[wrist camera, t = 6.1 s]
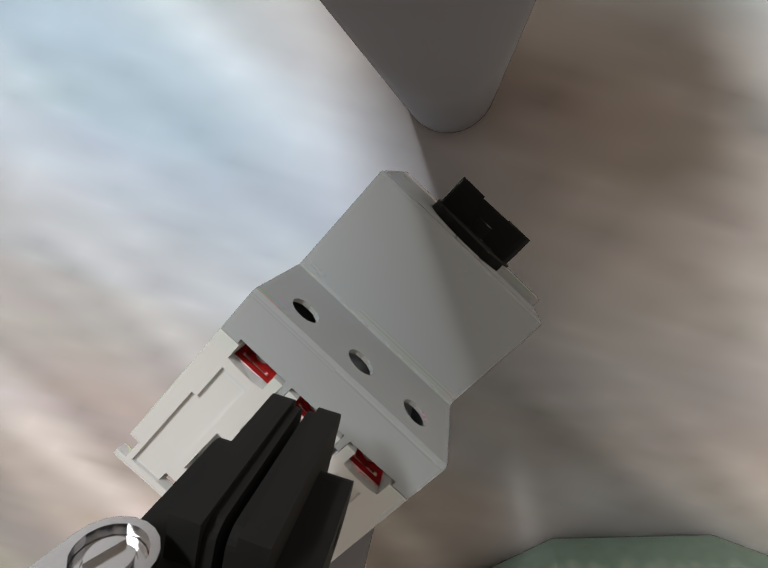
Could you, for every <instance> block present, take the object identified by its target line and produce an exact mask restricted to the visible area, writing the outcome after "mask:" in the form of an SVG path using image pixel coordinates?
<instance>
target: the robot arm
mask: <svg viewBox="0 0 768 568" xmlns="http://www.w3.org/2000/svg"><path fill="white" fill-rule="evenodd" d="M301 416H302V408H299V407H296V400H295V399H291V398H288V397H285V396H282V395H279V394H275V393H273V394H272V395H271V396H270V397H269V398H268V399H267V400H266V402H265V403H264V404H263V405H262V406H261V407H260V408H259V410H258V411H257V412H256V413H255V414H254V415H253V417H252V418H251V419H250V420H249V421H248V422H247V423H246V425H245V426H244V427H243V428H242V429H241V430H240V432H239V433H238V434H237V435H236V436H235V437H234V439H233V440H232V441H230V440H227V439H224V438H221V437H220V438H217V439H216V440H215V441H213V442H212V443H211V444H210V445H209V446H208V448H207V449H206V450H205V451H204V452H203V453H202V454H201V455H200V456H199V457H198V458H197V459H196V460H195V462H194V463H193V464H192V465H191V466H190V467H189V468H188V469H187V470H186V471H185V472H184V473H183V474H182V475H181V477H180V478H179V479H178V480H177V481H176V482H175V483H174V484H173V485H172V486H171V487H170V488H169V489H168V491H167V492H166V493H165V494H164V495H163V496H162V497H161V498H160V499H159V500H158V501H157V502H156V503H155V504H154V506H153V507H152V508H151V509H150V510H149V511H148V512H147V513H146V514H145V515H144V516H143V517H142V518H141V519H139V518H136V517H127V516H118V517H111V518H105V519H102V520H99V521H97V522H94V523H91V524H89V525H87V526H86V527H84V528H82V529H81V530H79V531H77V532H76V533H74V534H73V535H71V536H70V537H69V538H67V539H66V540H65V541H63V542H62V543H61V544H59V545H58V546H57V547H55V548H54V549H53V550H51V551H50V552H49V553H47V554H46V555H45V556H43V557H42V558H41V559H39V560H38V561H37V562H35V563H34V564H33V565H31V566H30V567H29V568H329V566H330V563H331V560H332V557H333V554H334V551H335V548H336V545H337V542H338V538H339V535H340V532H341V529H342V525H343V522H344V518H345V515H346V511H347V507H348V504H349V500H350V496H351V492H352V488H353V484H354V481H352V480H349V479H346V478H343V477H340V476H337V475H334V474H331V473H328V469H329V465H330V461H331V457H332V453H333V449H334V444H335V440H336V436H337V432H338V428H339V424H340V419H341V414H339V413H336V412H333V411H330V410H327V409H323V408H320V407H319V408H318V409H317V410H316V412H312V411H307V413H306V414H305V416H304V417H303V419H302V420H301ZM300 421H301V422H300Z"/></svg>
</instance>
